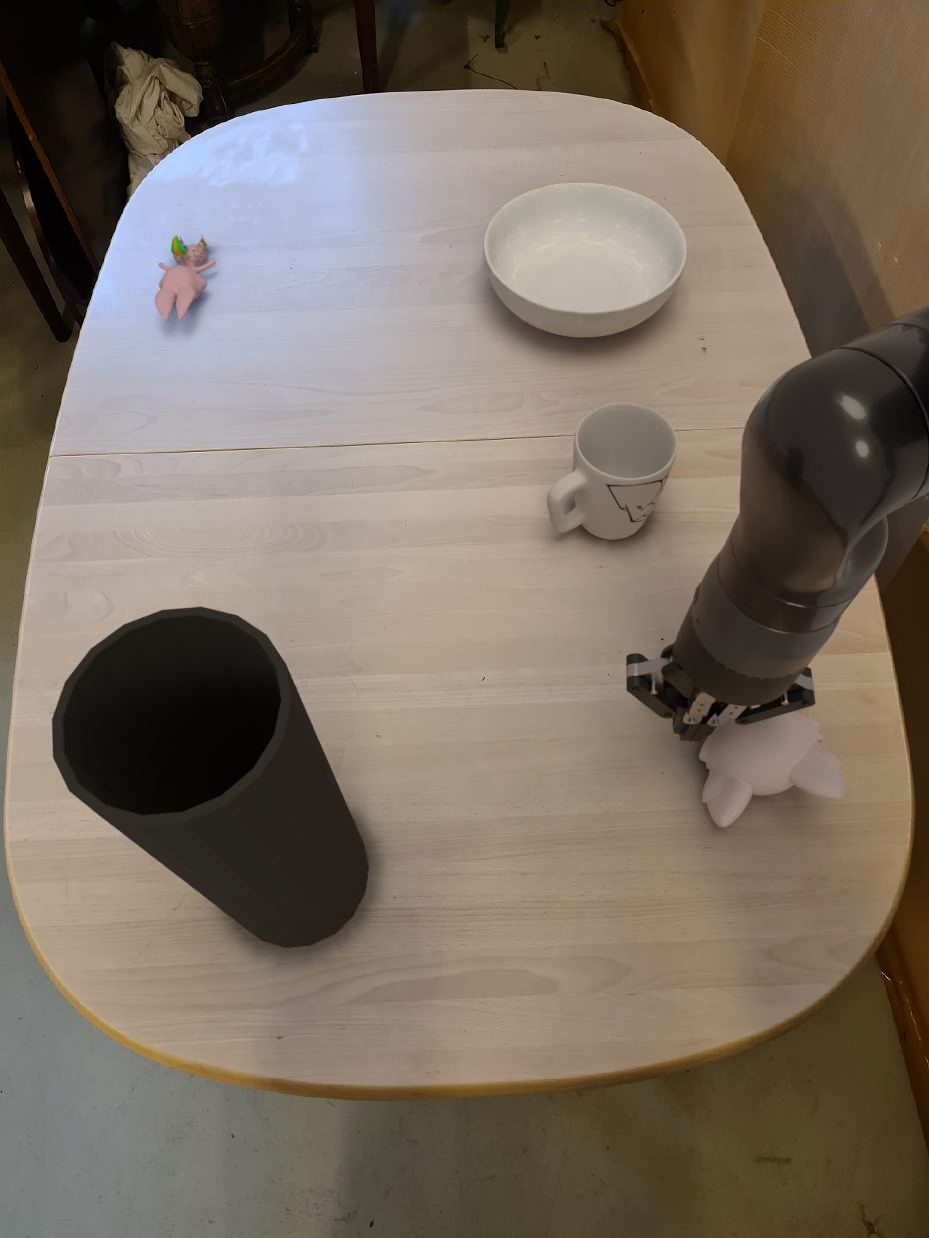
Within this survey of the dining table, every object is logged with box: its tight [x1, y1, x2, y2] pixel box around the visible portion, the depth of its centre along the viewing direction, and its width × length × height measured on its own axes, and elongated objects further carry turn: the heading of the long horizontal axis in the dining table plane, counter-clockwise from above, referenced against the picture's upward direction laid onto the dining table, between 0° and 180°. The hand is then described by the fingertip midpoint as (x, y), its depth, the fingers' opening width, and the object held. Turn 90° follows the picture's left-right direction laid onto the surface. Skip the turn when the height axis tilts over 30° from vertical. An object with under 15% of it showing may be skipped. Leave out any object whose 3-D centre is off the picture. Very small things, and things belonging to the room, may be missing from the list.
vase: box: [51, 606, 370, 948], centre depth 50 cm, size 10×10×30 cm
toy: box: [698, 674, 846, 828], centre depth 64 cm, size 12×8×15 cm
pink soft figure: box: [154, 234, 216, 322], centre depth 92 cm, size 6×6×15 cm
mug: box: [546, 401, 679, 541], centre depth 74 cm, size 11×8×10 cm
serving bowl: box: [482, 181, 688, 338], centre depth 90 cm, size 21×21×7 cm
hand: (688, 729), depth 64 cm, fingers closed
